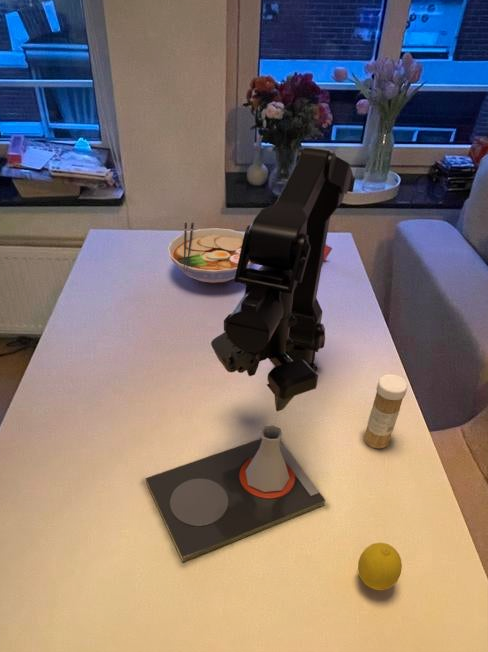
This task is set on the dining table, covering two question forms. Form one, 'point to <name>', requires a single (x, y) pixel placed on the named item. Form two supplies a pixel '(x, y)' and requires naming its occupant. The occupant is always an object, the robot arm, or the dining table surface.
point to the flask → (268, 463)
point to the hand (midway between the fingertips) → (264, 392)
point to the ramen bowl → (207, 253)
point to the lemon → (380, 566)
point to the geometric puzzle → (326, 252)
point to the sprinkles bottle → (385, 410)
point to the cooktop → (226, 499)
